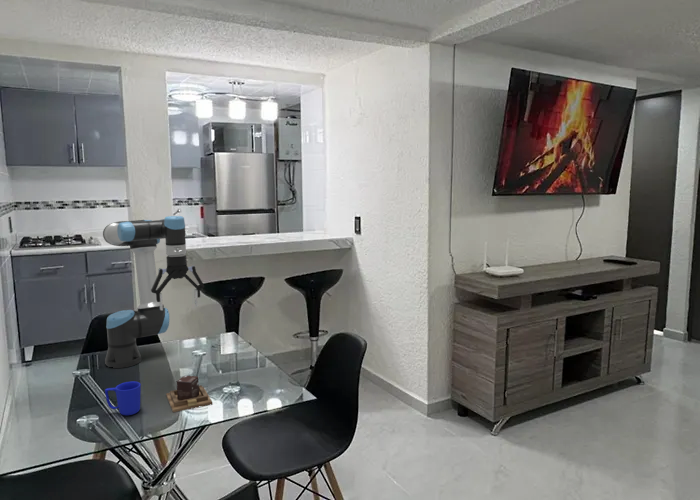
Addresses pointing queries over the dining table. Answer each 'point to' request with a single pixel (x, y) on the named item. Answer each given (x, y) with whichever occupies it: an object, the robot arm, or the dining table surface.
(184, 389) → the box
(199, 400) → the brown tray
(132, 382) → the mug
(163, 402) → the dining table surface
